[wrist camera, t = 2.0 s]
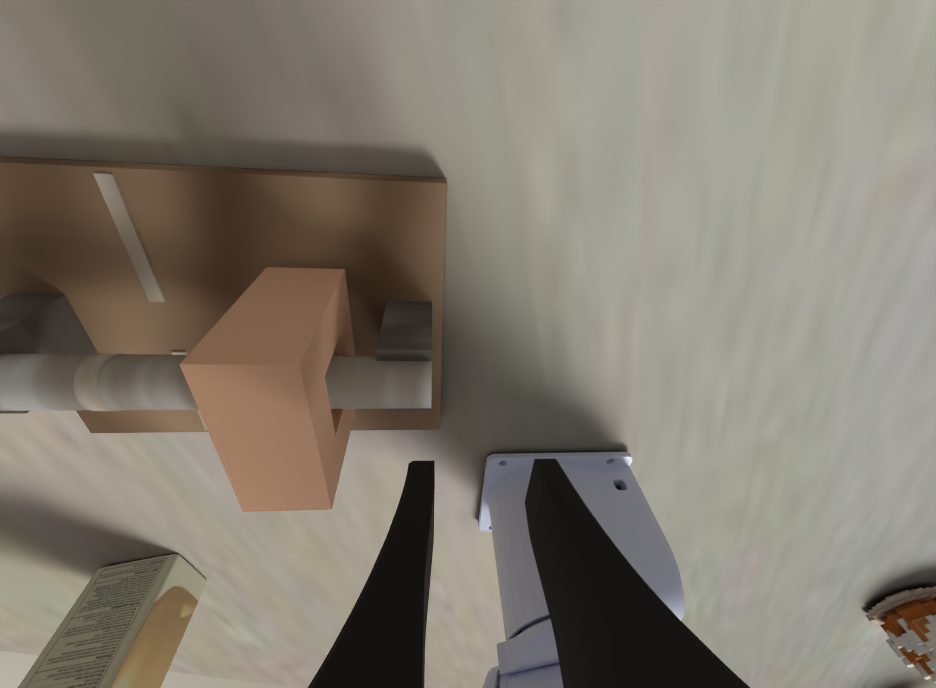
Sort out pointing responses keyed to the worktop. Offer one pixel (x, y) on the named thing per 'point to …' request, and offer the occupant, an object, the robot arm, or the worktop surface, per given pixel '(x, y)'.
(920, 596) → the decorative ornament
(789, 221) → the worktop surface
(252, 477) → the collar
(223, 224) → the pipe rig
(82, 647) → the skincare box
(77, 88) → the worktop surface
